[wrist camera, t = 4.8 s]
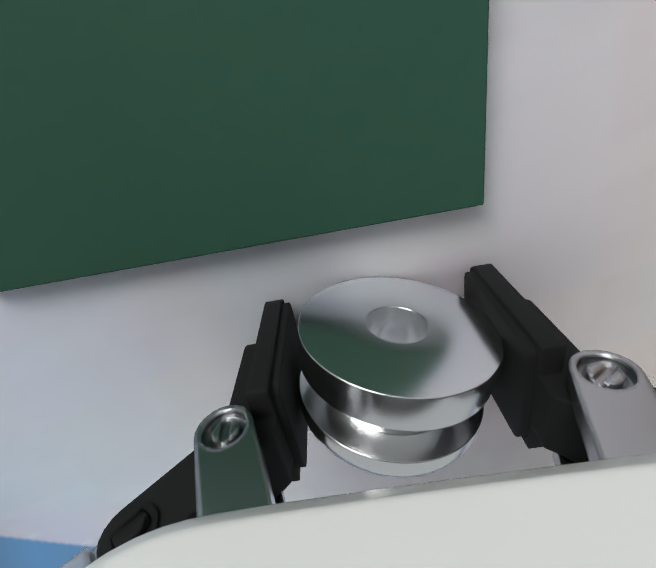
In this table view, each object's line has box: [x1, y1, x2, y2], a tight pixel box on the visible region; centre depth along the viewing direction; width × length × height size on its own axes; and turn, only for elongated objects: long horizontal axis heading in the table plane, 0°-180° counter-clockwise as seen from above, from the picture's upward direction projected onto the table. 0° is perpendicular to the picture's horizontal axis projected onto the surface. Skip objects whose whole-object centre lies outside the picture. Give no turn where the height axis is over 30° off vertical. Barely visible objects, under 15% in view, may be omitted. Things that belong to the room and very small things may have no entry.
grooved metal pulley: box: [298, 277, 504, 478], centre depth 10 cm, size 5×3×5 cm, turn 89°
